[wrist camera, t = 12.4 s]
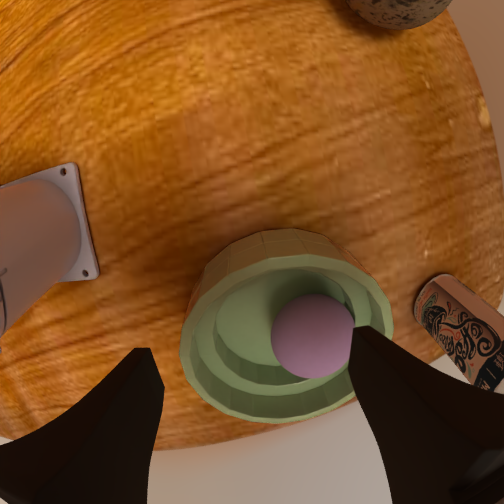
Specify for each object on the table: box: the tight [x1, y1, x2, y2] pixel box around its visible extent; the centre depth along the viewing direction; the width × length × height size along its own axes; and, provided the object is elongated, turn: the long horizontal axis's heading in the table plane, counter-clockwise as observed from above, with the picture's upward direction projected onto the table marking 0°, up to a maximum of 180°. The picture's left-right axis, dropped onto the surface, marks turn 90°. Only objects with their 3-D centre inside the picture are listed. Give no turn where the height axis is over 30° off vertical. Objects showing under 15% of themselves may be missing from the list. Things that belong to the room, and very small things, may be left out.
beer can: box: [414, 274, 504, 394], centre depth 15 cm, size 5×5×12 cm
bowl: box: [179, 228, 394, 423], centre depth 18 cm, size 12×12×5 cm
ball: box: [271, 294, 355, 378], centre depth 17 cm, size 5×5×5 cm
